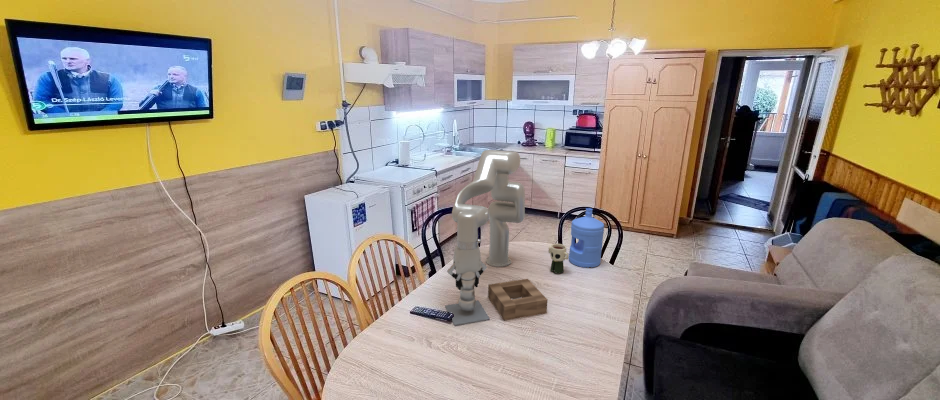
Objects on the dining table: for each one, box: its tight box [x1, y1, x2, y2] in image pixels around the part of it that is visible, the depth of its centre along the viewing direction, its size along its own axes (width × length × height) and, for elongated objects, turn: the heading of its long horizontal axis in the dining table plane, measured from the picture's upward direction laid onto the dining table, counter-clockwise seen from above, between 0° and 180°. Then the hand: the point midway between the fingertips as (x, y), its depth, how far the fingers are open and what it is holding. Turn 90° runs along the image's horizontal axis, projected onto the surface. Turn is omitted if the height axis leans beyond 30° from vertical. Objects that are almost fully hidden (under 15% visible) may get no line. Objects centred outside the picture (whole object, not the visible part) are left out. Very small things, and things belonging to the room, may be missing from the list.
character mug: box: [548, 243, 569, 274], centre depth 190 cm, size 11×7×13 cm, turn 44°
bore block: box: [487, 278, 548, 322], centre depth 162 cm, size 18×18×6 cm
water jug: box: [568, 207, 605, 269], centre depth 199 cm, size 16×16×28 cm
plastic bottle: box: [458, 272, 476, 311], centre depth 153 cm, size 6×7×20 cm
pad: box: [445, 299, 491, 327], centre depth 156 cm, size 14×14×1 cm
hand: (467, 286), depth 153 cm, fingers closed on plastic bottle, 6 cm apart
